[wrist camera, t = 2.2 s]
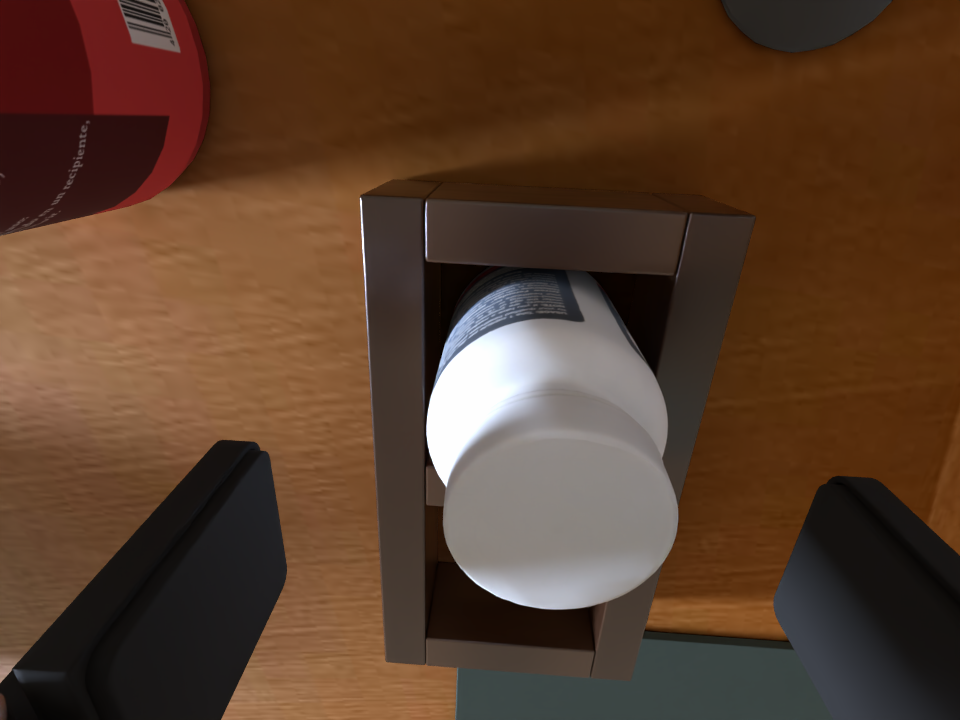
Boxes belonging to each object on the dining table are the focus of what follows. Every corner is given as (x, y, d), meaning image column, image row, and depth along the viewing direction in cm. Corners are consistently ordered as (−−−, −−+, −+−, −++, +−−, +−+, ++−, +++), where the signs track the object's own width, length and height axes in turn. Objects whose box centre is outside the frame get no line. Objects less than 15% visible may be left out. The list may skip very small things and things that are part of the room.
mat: (873, 647, 22) (879, 656, 22) (801, 775, 26) (805, 784, 26) (459, 616, 22) (458, 624, 22) (454, 746, 27) (453, 755, 26)
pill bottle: (424, 357, 17) (349, 564, 9) (502, 219, 15) (496, 330, 7) (557, 425, 18) (596, 670, 10) (647, 304, 16) (790, 490, 8)
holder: (703, 195, 14) (757, 215, 11) (613, 599, 22) (631, 682, 18) (390, 178, 15) (358, 194, 12) (402, 584, 22) (384, 663, 19)
